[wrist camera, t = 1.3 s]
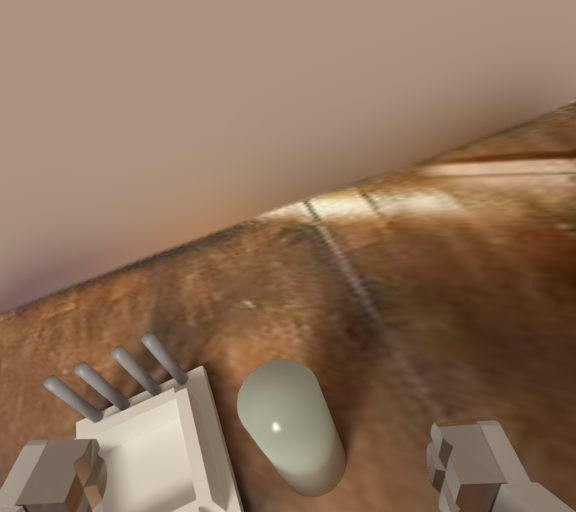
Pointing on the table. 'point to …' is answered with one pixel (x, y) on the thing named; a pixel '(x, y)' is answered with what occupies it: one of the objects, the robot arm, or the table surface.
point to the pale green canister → (293, 425)
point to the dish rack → (157, 439)
